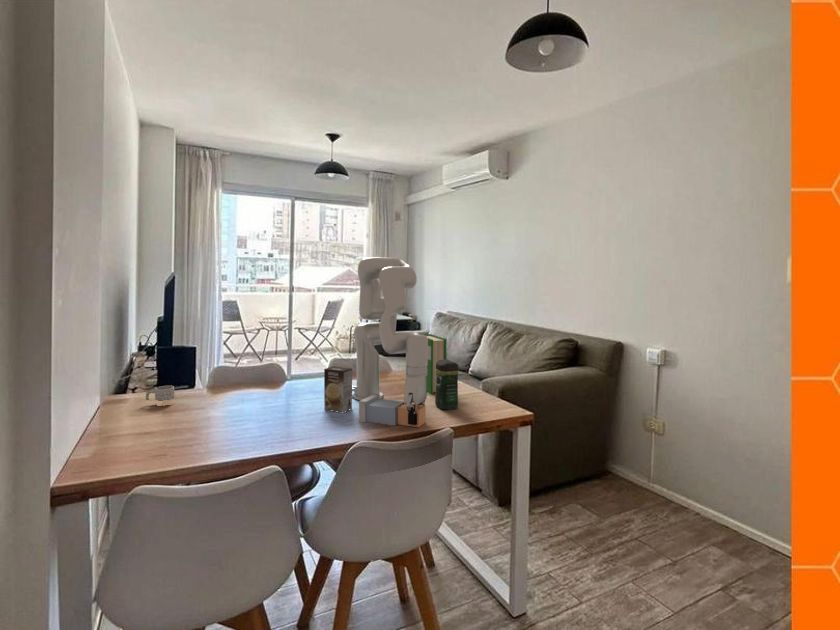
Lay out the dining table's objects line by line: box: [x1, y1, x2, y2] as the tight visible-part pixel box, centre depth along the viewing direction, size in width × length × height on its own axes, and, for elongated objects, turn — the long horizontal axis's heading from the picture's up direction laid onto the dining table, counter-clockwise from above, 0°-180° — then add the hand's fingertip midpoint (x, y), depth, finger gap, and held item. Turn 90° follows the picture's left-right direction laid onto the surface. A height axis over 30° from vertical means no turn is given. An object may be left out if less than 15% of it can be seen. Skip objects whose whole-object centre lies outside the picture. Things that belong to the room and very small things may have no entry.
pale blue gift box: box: [358, 394, 404, 427], centre depth 163 cm, size 14×11×7 cm
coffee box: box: [323, 365, 353, 413], centre depth 174 cm, size 9×6×16 cm
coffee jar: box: [434, 359, 460, 411], centre depth 179 cm, size 10×8×19 cm
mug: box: [145, 385, 175, 401], centre depth 179 cm, size 10×7×7 cm, turn 108°
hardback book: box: [419, 333, 448, 395], centre depth 206 cm, size 18×7×24 cm, turn 22°
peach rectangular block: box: [397, 403, 426, 428], centre depth 159 cm, size 8×6×6 cm
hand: (416, 421), depth 158 cm, fingers closed on peach rectangular block, 6 cm apart
